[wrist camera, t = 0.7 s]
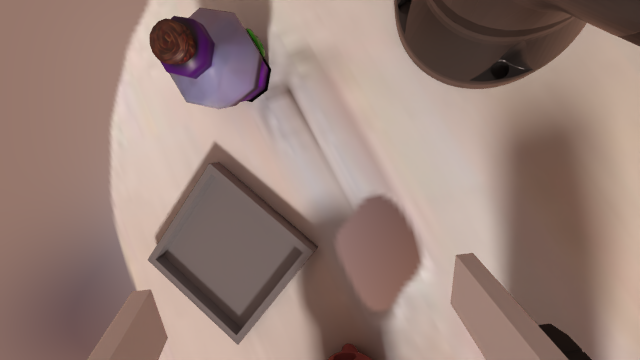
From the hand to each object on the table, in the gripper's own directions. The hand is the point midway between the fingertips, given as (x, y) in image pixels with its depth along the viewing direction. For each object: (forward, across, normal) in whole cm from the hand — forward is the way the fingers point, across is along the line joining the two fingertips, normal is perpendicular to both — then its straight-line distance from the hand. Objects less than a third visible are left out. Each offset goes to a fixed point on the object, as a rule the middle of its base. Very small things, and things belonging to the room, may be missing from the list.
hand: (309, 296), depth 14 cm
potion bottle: (+25, -5, +8) cm, 27 cm away
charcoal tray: (+21, -9, -11) cm, 25 cm away
